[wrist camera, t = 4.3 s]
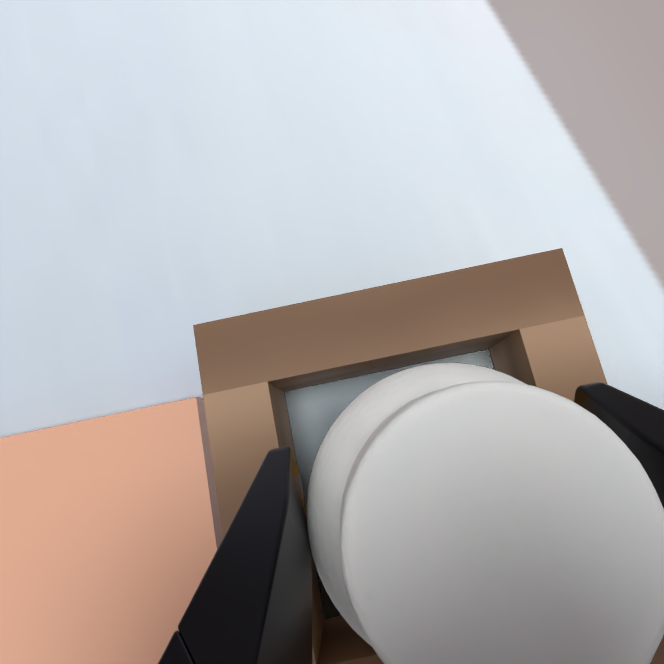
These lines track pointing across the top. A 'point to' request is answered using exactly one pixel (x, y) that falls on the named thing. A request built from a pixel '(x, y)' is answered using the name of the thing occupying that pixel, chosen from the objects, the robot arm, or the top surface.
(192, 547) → the coaster
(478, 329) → the pocket block
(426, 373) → the supplement bottle
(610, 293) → the top surface
